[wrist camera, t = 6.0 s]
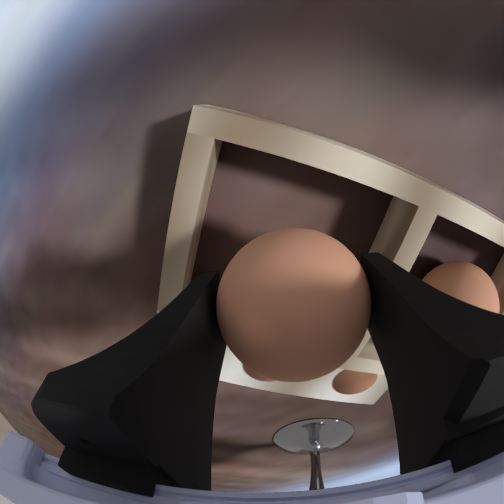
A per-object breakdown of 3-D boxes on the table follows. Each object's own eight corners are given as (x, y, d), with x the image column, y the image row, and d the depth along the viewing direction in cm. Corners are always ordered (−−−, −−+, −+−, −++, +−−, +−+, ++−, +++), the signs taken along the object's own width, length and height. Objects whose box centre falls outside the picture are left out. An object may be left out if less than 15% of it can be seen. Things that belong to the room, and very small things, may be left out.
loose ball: (354, 201, 11) (405, 273, 6) (349, 311, 13) (375, 403, 9) (217, 212, 11) (182, 289, 7) (236, 319, 13) (222, 413, 9)
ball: (484, 257, 14) (531, 308, 10) (443, 324, 16) (475, 382, 12) (424, 232, 14) (474, 287, 9) (382, 310, 16) (409, 377, 12)
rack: (523, 233, 13) (547, 252, 11) (407, 402, 20) (414, 427, 18) (208, 104, 12) (193, 105, 9) (161, 359, 19) (151, 388, 17)
